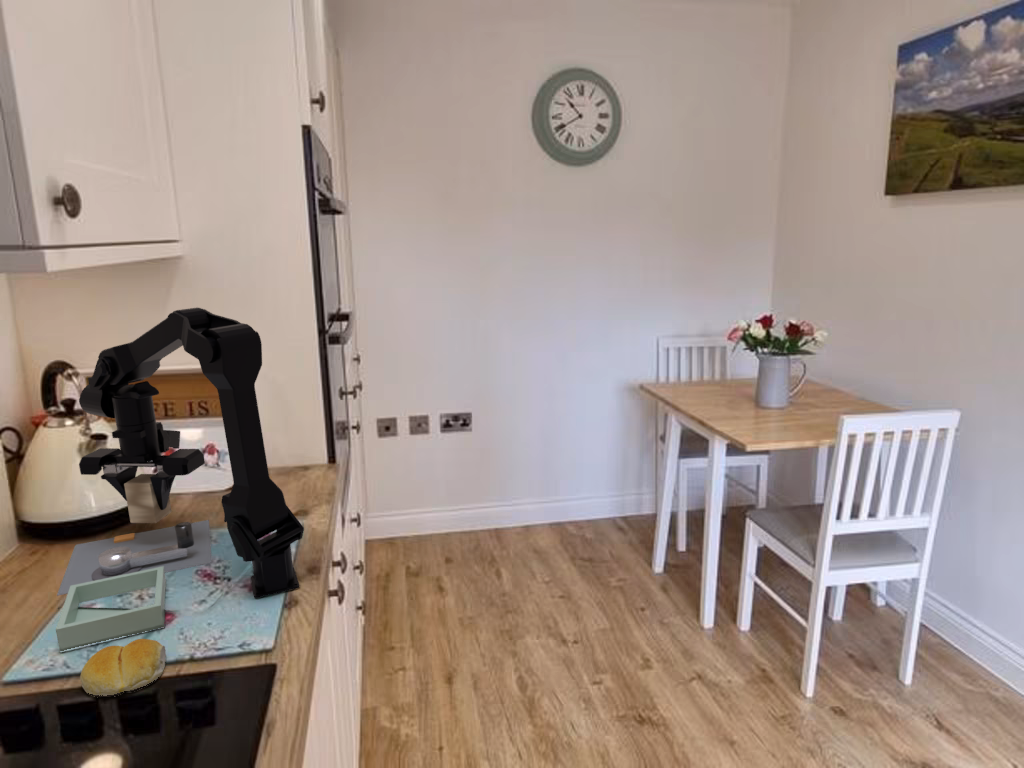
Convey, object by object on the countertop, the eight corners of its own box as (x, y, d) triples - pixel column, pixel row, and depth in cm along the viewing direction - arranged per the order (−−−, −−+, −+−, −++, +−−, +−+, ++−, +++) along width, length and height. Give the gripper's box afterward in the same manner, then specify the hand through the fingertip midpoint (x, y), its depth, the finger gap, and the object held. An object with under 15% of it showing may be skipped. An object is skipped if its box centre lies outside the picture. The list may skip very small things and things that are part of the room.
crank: (99, 577, 100) (93, 547, 99) (102, 564, 104) (97, 536, 103) (195, 557, 106) (191, 529, 105) (195, 546, 110) (191, 518, 109)
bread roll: (90, 667, 83) (85, 639, 82) (169, 650, 86) (165, 622, 85) (73, 710, 75) (67, 680, 74) (161, 689, 78) (156, 660, 77)
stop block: (171, 511, 114) (165, 474, 113) (156, 523, 110) (149, 484, 108) (147, 511, 115) (140, 473, 113) (130, 522, 110) (124, 483, 109)
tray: (164, 628, 90) (160, 605, 89) (60, 653, 85) (55, 629, 84) (166, 586, 100) (163, 566, 100) (74, 607, 95) (70, 585, 95)
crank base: (212, 568, 106) (211, 560, 105) (57, 601, 97) (56, 593, 97) (209, 524, 122) (208, 517, 121) (76, 550, 113) (74, 542, 113)
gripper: (215, 408, 115) (226, 490, 119) (114, 408, 117) (128, 489, 120) (179, 426, 105) (192, 517, 108) (69, 426, 106) (85, 515, 110)
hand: (150, 508), depth 112 cm, fingers closed on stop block, 4 cm apart
